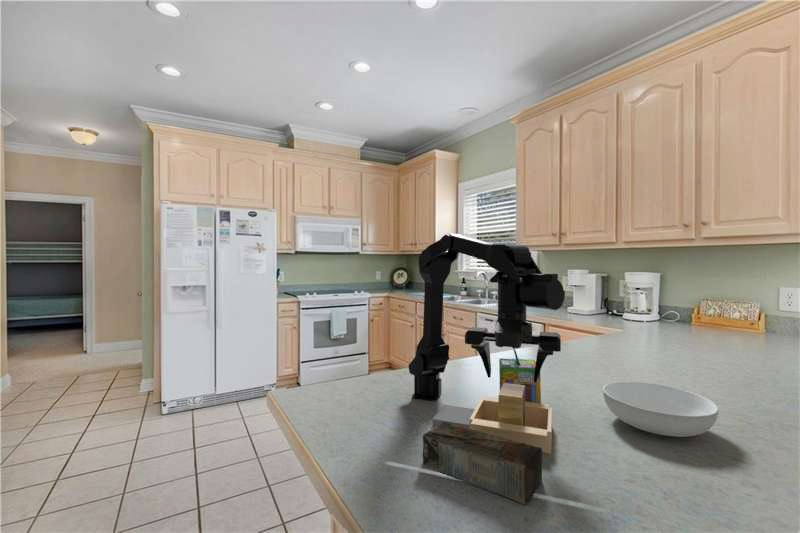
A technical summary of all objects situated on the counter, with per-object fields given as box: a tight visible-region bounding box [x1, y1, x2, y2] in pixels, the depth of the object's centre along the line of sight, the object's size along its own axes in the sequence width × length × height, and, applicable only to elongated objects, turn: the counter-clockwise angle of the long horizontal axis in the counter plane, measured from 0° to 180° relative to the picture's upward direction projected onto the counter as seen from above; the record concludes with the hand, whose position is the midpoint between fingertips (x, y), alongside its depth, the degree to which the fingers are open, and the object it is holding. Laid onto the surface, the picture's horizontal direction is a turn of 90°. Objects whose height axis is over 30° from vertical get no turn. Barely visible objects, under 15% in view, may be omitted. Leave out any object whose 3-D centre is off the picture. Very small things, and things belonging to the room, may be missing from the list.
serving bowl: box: [602, 380, 720, 438], centre depth 83 cm, size 21×21×7 cm
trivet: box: [432, 404, 475, 429], centre depth 86 cm, size 8×9×2 cm
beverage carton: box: [422, 422, 543, 506], centre depth 65 cm, size 8×19×7 cm, turn 53°
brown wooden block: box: [498, 383, 525, 426], centre depth 79 cm, size 8×4×9 cm, turn 157°
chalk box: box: [498, 348, 542, 404], centre depth 94 cm, size 9×9×15 cm
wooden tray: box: [470, 395, 553, 454], centre depth 79 cm, size 15×16×4 cm
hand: (511, 379), depth 79 cm, fingers open, 9 cm apart
